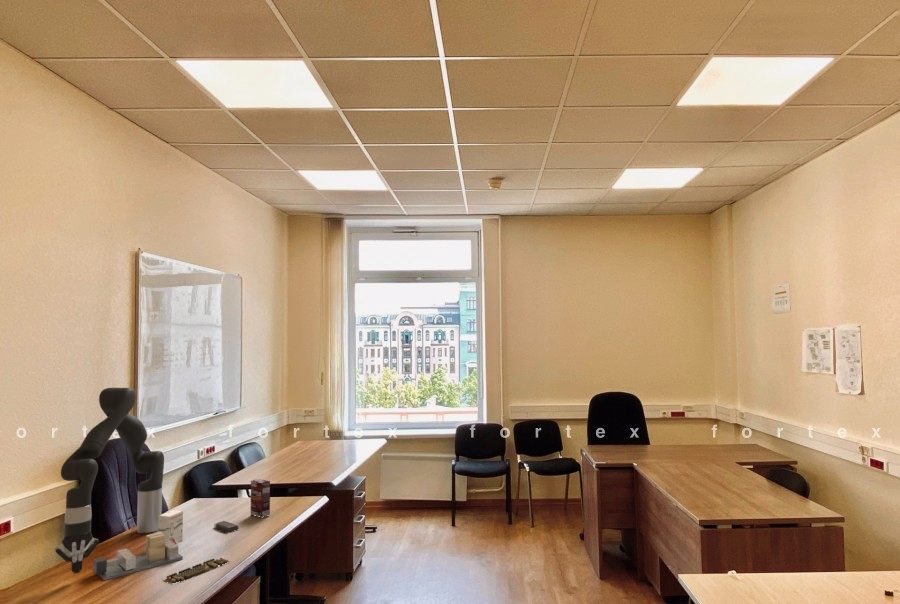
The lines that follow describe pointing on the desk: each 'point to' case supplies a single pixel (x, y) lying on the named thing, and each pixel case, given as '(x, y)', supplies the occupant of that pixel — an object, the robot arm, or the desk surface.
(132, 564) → the free jaw
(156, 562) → the vise base
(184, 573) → the keyboard
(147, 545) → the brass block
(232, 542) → the desk surface
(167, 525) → the ink box
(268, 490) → the supplement box
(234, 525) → the usb drive
